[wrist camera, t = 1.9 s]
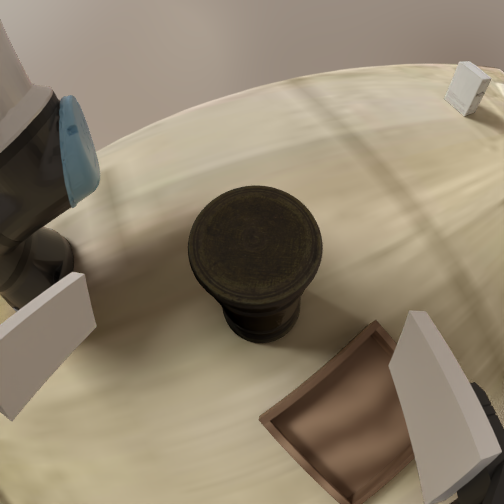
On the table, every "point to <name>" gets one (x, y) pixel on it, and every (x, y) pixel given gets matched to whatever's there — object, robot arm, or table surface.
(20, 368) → the robot arm
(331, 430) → the walnut tray
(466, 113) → the supplement box
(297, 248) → the container
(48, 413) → the table surface
